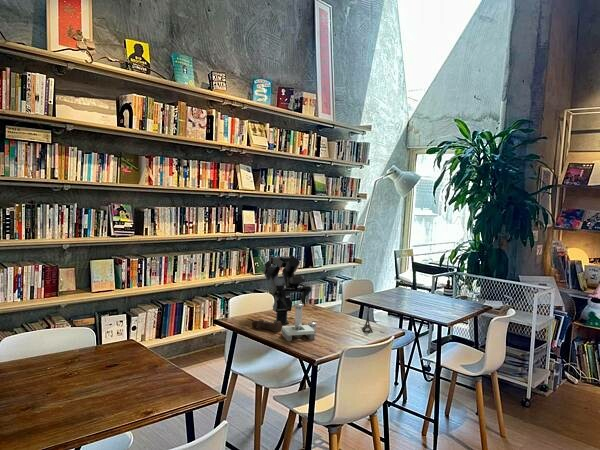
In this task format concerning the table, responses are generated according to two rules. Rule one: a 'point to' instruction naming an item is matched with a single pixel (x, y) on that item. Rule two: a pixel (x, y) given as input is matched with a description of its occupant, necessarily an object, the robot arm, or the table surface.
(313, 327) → the short stub
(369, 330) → the eiffel tower figurine
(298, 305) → the long pin
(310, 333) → the square washer plate
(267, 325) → the bolt
